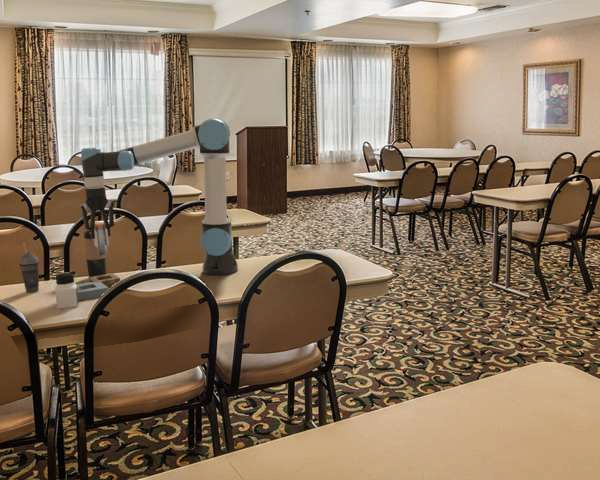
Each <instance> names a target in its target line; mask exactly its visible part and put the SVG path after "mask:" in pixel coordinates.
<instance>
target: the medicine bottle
mask: <svg viewBox="0 0 600 480" xmlns="http://www.w3.org/2000/svg"><path fill="white" fill-rule="evenodd" d="M74 275H75V274H74V273H72V272H66V271H65V272H60V273H58V274H56V276H55V282H56V286H55V293H54V294H55V301H56V302H55V303H56V309H57V310H63V309H70V308H71V309H73V308H78V307H79V301H78V295H77V286H76V285H77V283H75V277H74Z"/></svg>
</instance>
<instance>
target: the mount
mask: <svg viewBox="0 0 600 480" xmlns="http://www.w3.org/2000/svg"><path fill="white" fill-rule="evenodd" d="M98 281H99V282H101V283H103V284H104V285H105V286H107V287H108V288H112V287H111V286H112V285H114V284H115V283H117V282H119V281H120V282H121V278H120V277H119V276H117V275H116V274H114V273H108V274H107V273H106V275H100V276H94V277H89V276H88V283H91V282H98Z"/></svg>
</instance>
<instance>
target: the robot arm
mask: <svg viewBox="0 0 600 480" xmlns="http://www.w3.org/2000/svg"><path fill="white" fill-rule="evenodd" d="M230 133H231V131H230V127H229V126H228V123H226V122H225V121H224V120H223V119H220V118H215V117H214V118H208V119H206V120H204V121H203V122H202V123H201V124H198V125H196V126H193V128H192V129H190V130H187V131H184V132H183V131H182V132H180V133H175V134H172V135H170V136H167V137H163V138H159V139H155V140H152V141H148V142H145V143H142V144H138V145H134V146H132V147H127V148H123V149H120V150H116V151H107V152H105V151H104V152H103V151H101V150H102V149H101V148H100V147H85V148H82V149H81V151H80V155H81V156H80V161H81V166H82V173H83V183H84V187H85V190H84V191H85V203H83V204H82V205H79V209H80V210H81V215H82V219H83V225H84V229H85V230H86V231H90V233H91V238H92V239H94V244H95V246H96V247H98V239H97V231H96V230H95V225H96V224H95V223H96V215H97V214H96V213H97V212H98V211H99V212H100V214H101V215H100V216H101V218H102V221H103V224H104V228H105V236H106V244H107V246H110V240H109V237H111V228H112V227H115V218H114V215H115V214H114V206H115V202H114V201H110V200H108V198H107V194H106V187H104V186H106V184H105V183H106V182H105V177H104V173H105V172H118V171H119V172H122V171H123V172H126V171H132V170H133V169H134V167H135V166H138V165H141V164H144V163H148V162H153V161H155V160H160V159H162V158H166V157H170V156H173V155H177V154H180V153H184V152H187V151H191V150H194V149H199V154H200V155H201V156H202V157H203V171H204V173H203V175H204V177H203V179H204V211H205V212H204V213H205V214H204V215H205V216H204V218H203V219H202V221H201V239H200V244H201V247H202V249H203V251H204V252H205V255H204V258H203V259H204V260H203V264H202V273H203V274H206V275H210V276H211V275H212V276H214V275H215V276H216V275H217V276H222V275H230V274H233V273H236V272H237V271H238V270H239V264H238V262H237V260H236V256H235V255H234V252H233V251H234V249H233V234H232V233H233V230H232V227H233V224H232V220H231V218H230V217H227V216H228V211H227V165H226V164H227V159H226V158H227V157H228V156H229V154H230V135H231V134H230ZM106 206H107V207H108V217H107V213H106V209H105V208H106ZM87 208H88V209H90V217H89V218H88V212H87ZM89 220H90V221H89Z"/></svg>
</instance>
